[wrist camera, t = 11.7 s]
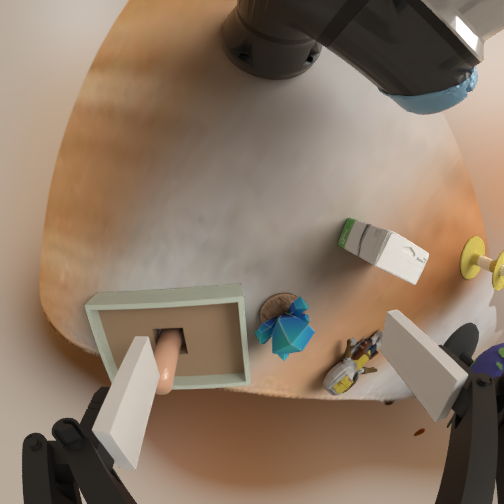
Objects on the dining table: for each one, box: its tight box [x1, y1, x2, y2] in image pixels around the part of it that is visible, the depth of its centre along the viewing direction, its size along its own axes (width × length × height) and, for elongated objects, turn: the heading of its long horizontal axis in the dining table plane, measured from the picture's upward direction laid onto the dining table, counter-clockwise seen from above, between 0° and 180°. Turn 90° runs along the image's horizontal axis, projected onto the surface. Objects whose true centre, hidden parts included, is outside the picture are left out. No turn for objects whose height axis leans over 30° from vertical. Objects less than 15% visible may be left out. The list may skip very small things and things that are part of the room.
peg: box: [154, 328, 183, 395], centre depth 36 cm, size 4×4×13 cm
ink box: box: [338, 218, 429, 285], centre depth 36 cm, size 9×5×12 cm, turn 68°
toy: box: [323, 330, 383, 395], centre depth 46 cm, size 12×5×15 cm
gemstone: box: [254, 293, 315, 361], centre depth 38 cm, size 7×9×12 cm
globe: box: [443, 323, 504, 378], centre depth 38 cm, size 22×22×30 cm
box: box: [84, 283, 251, 389], centre depth 40 cm, size 16×24×5 cm, turn 94°
